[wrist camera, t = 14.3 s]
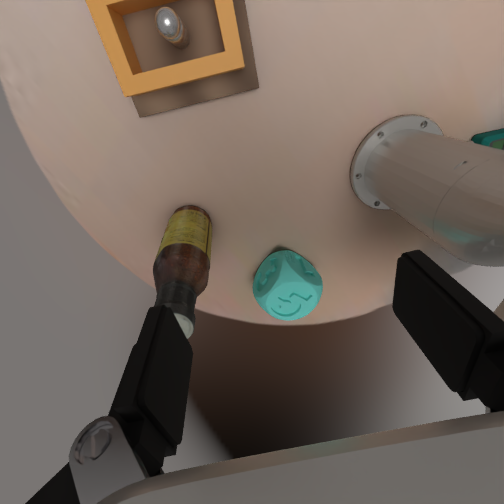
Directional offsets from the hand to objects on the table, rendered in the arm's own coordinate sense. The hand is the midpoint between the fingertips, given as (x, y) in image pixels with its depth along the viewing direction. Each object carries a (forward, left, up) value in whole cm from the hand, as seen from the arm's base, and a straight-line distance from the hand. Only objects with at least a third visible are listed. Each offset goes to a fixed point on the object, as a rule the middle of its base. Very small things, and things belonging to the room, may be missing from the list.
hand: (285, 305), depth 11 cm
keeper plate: (+4, -13, -28) cm, 31 cm away
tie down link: (+4, -13, -27) cm, 30 cm away
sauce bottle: (+10, +8, -28) cm, 31 cm away
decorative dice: (-2, +20, -29) cm, 35 cm away
